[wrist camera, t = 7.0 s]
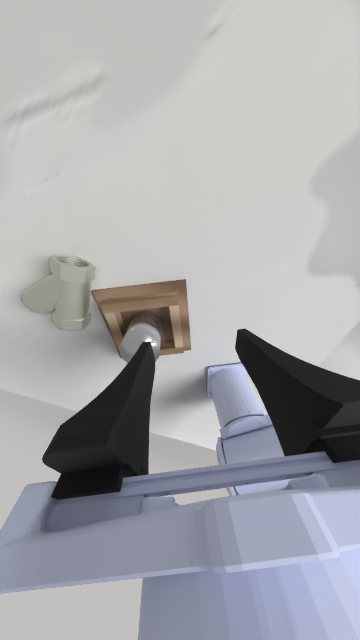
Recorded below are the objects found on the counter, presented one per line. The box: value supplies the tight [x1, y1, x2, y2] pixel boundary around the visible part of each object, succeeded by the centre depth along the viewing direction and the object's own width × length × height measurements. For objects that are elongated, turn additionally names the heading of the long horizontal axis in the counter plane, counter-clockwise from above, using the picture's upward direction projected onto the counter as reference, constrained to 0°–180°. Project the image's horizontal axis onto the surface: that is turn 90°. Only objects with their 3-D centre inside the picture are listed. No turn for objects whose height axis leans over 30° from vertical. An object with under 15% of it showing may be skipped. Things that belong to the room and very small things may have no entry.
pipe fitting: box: [21, 255, 95, 331], centre depth 17 cm, size 8×4×7 cm
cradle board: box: [92, 279, 191, 360], centre depth 21 cm, size 12×12×3 cm
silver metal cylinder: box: [120, 310, 162, 363], centre depth 19 cm, size 4×4×6 cm
